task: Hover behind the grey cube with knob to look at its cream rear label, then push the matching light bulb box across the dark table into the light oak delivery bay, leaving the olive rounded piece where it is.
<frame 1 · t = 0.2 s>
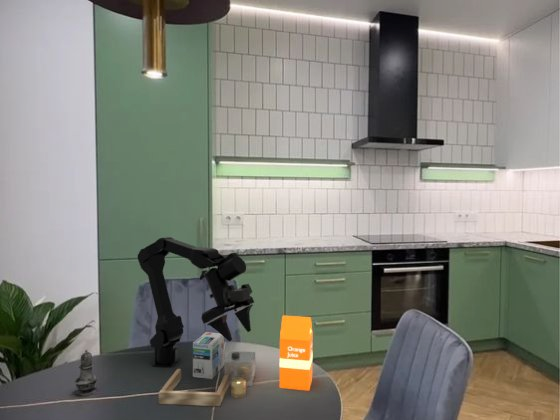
hand: (240, 335, 112), 15 cm above the table, tool tilted 30°, fingers open, 9 cm apart
grey chess piece: (86, 392, 107), on the table
orange juice: (296, 383, 114), on the table
grey cube with knob: (240, 379, 116), on the table
delivery bay: (197, 390, 108), on the table
olive rounded piece: (238, 394, 107), on the table
light bulb box: (208, 371, 121), on the table
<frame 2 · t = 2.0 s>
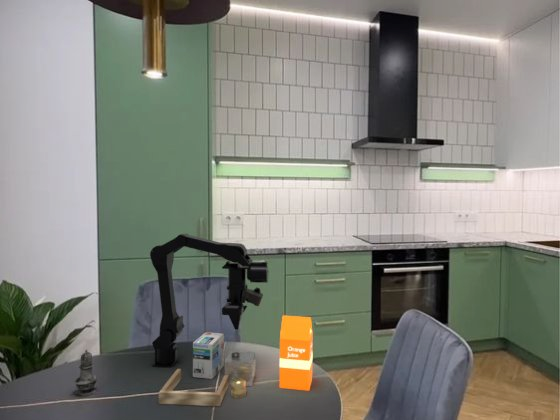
hand: (236, 329, 126), 12 cm above the table, tool pointing down, fingers closed
nothing on the table moved.
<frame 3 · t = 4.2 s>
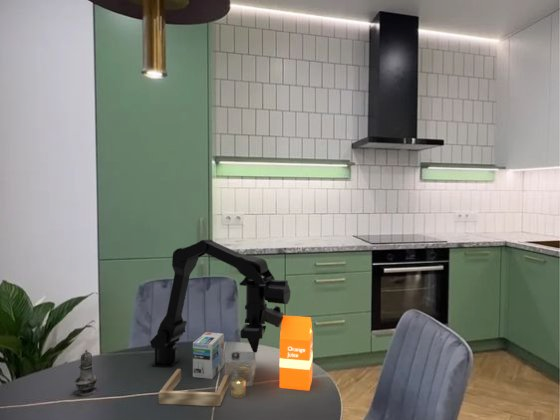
hand: (255, 352, 115), 9 cm above the table, tool pointing down, fingers closed
nothing on the table moved.
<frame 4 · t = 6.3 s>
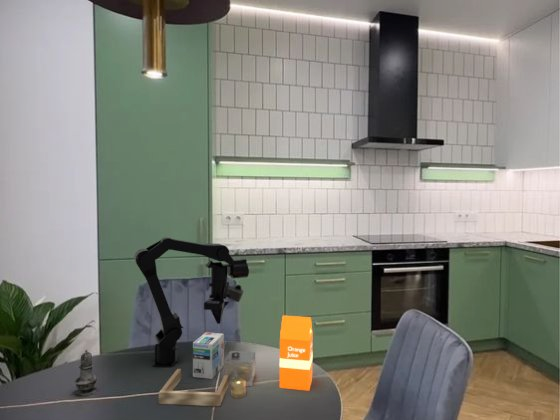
hand: (218, 323, 135), 11 cm above the table, tool pointing down, fingers closed
nothing on the table moved.
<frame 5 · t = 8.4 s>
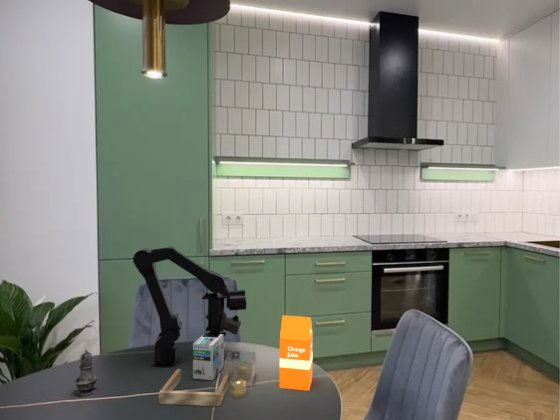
hand: (215, 356, 131), 1 cm above the table, tool pointing down, fingers closed
light bulb box: (208, 373, 120), on the table, touching gripper
everything else where it was.
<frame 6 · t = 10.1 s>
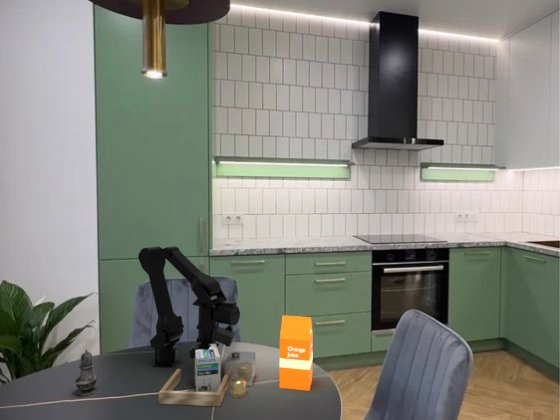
hand: (207, 369, 120), 1 cm above the table, tool pointing down, fingers closed, pressing on light bulb box
light bulb box: (207, 387, 111), on the table, touching gripper
everything else where it was.
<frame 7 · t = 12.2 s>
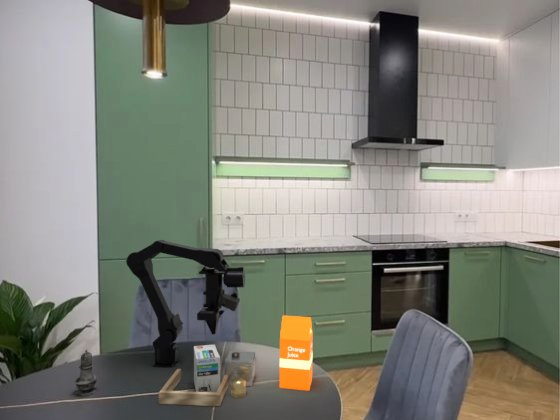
hand: (213, 334, 127), 10 cm above the table, tool pointing down, fingers closed
light bulb box: (206, 388, 110), on the table
everything else where it was.
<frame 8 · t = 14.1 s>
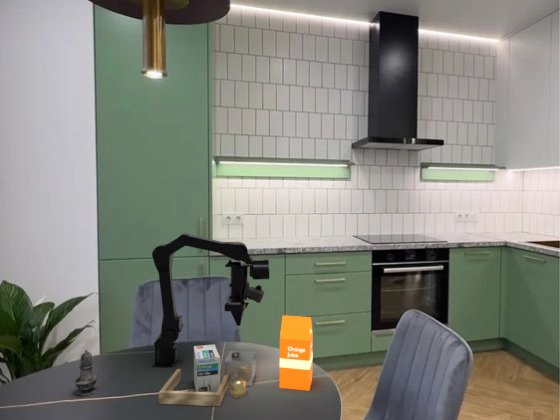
hand: (238, 325, 130), 12 cm above the table, tool pointing down, fingers closed
nothing on the table moved.
at the end: light bulb box inside the target area (2.2 cm from its centre), on the table; light bulb box tilted 0°; olive rounded piece moved 0.1 cm from its start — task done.
